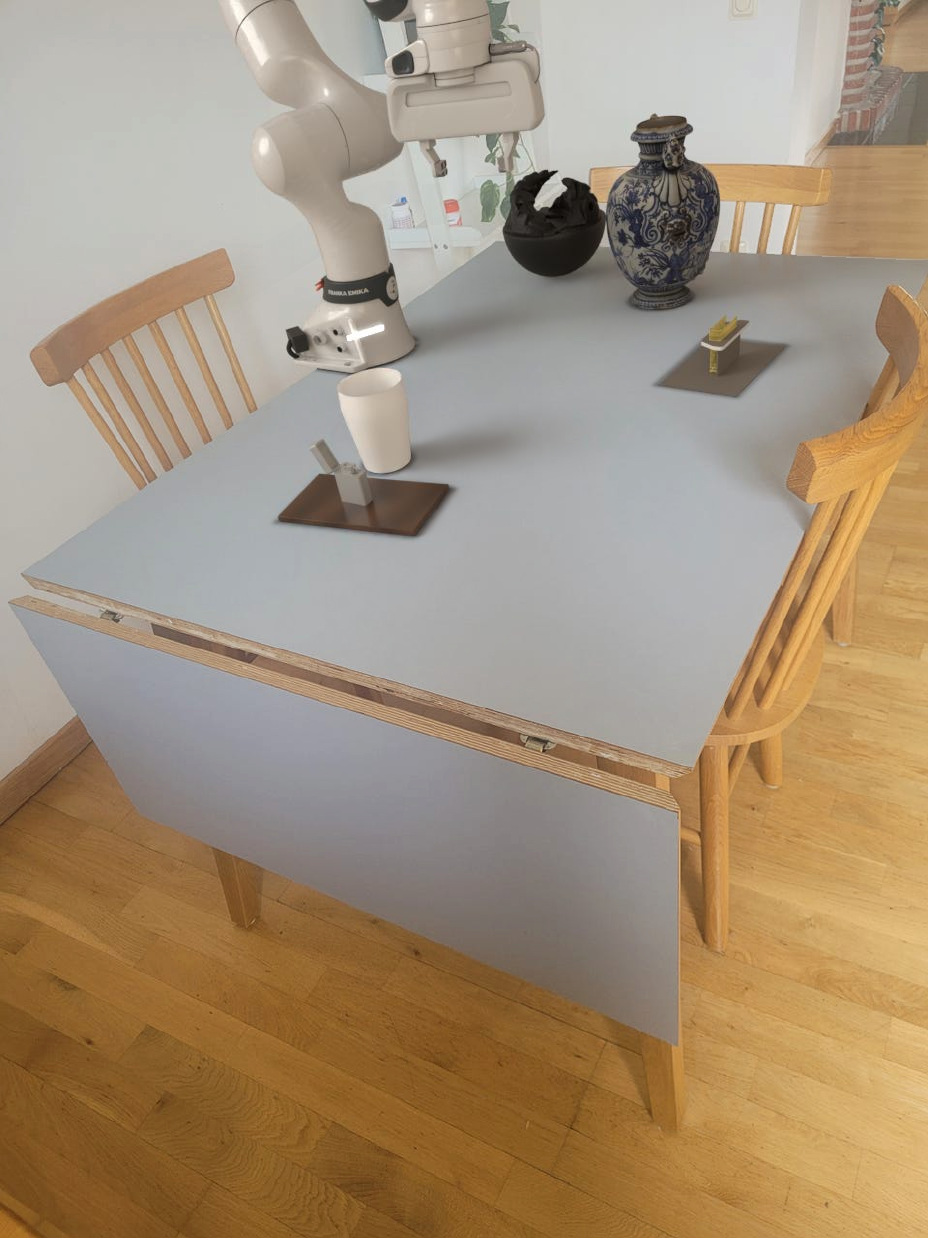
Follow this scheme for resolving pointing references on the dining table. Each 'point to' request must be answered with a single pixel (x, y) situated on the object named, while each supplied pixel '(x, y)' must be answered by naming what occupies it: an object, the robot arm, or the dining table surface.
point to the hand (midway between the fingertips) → (473, 173)
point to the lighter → (344, 475)
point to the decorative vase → (662, 215)
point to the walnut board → (367, 506)
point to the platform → (723, 361)
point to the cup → (377, 417)
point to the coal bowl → (553, 226)
